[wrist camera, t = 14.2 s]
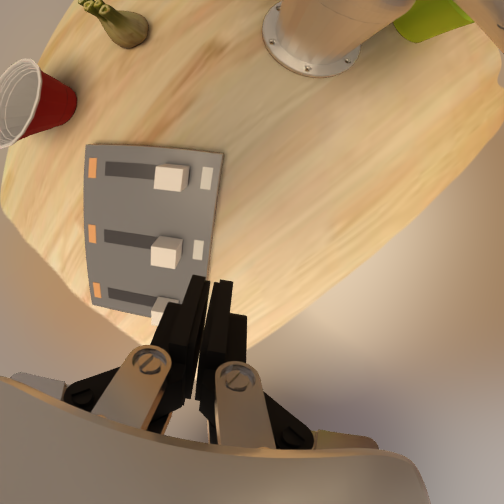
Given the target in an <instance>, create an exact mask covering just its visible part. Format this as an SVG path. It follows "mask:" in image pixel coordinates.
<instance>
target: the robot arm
mask: <svg viewBox="0 0 504 504" xmlns="http://www.w3.org/2000/svg"><path fill="white" fill-rule="evenodd" d="M415 1H416V0H282V1H280V2H279V3H277V4H275V5H274V6H273V7H272V8H271V9H270V10H269V11H268V13H267V14H266V16H265V19H264V21H263V26H262V36H263V40H264V43H265V45H266V47H267V49H268V51H269V52H270V54H271V55H272V56H273V58H274V59H275V60H277V61H278V62H279V63H280V64H281V65H283V66H284V67H286V68H287V69H289V70H291V71H293V72H295V73H297V74H300V75H304V76H307V77H315V78H327V77H331V76H336V75H338V74H340V73H343V72H344V71H346V70H347V69H349V68H350V67H351V66H352V65H353V64H354V63H355V61H356V60H357V59H358V56H359V53H360V49H361V44H362V43H363V42H364V41H366V40H367V39H369V38H370V37H371V36H373V35H374V34H376V33H377V32H379V31H380V30H381V29H383V28H384V27H386V26H387V25H389V24H390V23H392V22H393V21H395V20H396V19H398V18H399V17H401V16H402V15H404V14H405V13H406V12H408V11H409V10H410V9H411V7H412V6H413V5H414V3H415ZM452 1H454V2H455V3H456V4H457V5H458V6H459V7H460V8H461V9H462V10H463V11H464V12H465V13H466V14H467V15H468V16H469V17H470V18H471V19H472V20H473V21H474V22H475V23H476V24H477V25H478V26H479V27H480V28H481V29H482V30H483V31H484V32H485V34H486V35H487V36H488V37H489V38H490V39H491V40H492V41H493V42H494V44H495V45H496V46H497V47H498V48H499V49H500V50H501V51H502V53H503V54H504V0H452ZM277 10H280V11H277ZM270 43H273V44H274V45H271V44H270ZM345 61H346V62H347V63H345ZM305 69H308V72H306V71H305ZM209 288H210V281H206V277H204V276H199V275H192V277H191V280H190V283H189V286H188V288H187V291H186V294H185V297H184V299H183V302H182V304H178V303H173V302H168V303H167V305H166V308H165V310H164V312H163V315H162V317H161V320H160V322H159V324H158V327H157V329H156V332H155V334H154V337H153V339H152V342H151V344H150V345H143V346H139V347H137V348H135V349H134V350H132V352H130V354H129V355H128V356H127V358H126V359H125V361H124V363H123V364H122V365H121V366H120V367H118V368H115V369H113V370H110V371H107V372H104V373H101V374H98V375H95V376H93V377H89V378H86V379H83V380H80V381H77V382H75V383H73V384H71V385H67V384H66V383H65V381H59V380H54V379H49V378H45V377H40V376H36V375H32V374H27V373H21V372H20V373H16V374H14V375H13V376H12V377H10V378H7V377H4V376H0V504H431V503H430V499H429V496H428V492H427V489H426V487H425V484H424V481H423V479H422V477H421V474H420V472H419V470H418V469H417V467H416V466H415V464H414V463H413V462H412V461H411V460H410V459H408V458H407V457H405V456H403V455H400V454H397V453H394V452H390V451H385V450H379V447H378V445H377V443H376V442H375V441H374V440H373V439H371V438H369V437H366V436H359V435H351V434H343V433H337V432H330V431H325V430H318V431H317V432H316V431H311V430H310V429H309V428H308V427H307V426H306V425H304V424H303V423H302V422H301V421H299V420H298V419H297V418H295V417H294V416H293V415H292V414H290V413H289V412H288V411H287V410H285V409H284V408H283V407H282V406H280V405H279V404H278V403H277V402H276V401H274V400H273V399H272V398H271V397H270V396H268V395H267V394H266V393H265V392H264V391H263V388H262V384H261V379H260V377H259V374H258V372H257V371H256V370H255V369H254V368H253V367H252V366H250V365H249V364H246V344H247V316H245V315H239V314H233V313H230V306H231V297H232V288H233V282H232V281H226V280H221V279H220V283H218V282H214V286H213V290H212V295H211V299H210V304H209V309H208V313H207V318H206V323H205V317H206V310H207V302H208V295H209ZM204 325H205V328H204ZM199 353H200V355H199ZM198 358H199V364H198V373H197V384H196V394H195V400H198V401H200V407H199V411H200V412H201V413H202V414H203V415H204V416H205V417H206V418H207V431H208V443H202V442H196V441H190V440H185V439H180V438H175V437H170V436H166V435H164V433H165V431H166V429H167V426H168V424H169V421H170V419H171V417H172V413H173V411H175V410H177V409H178V408H180V407H182V405H184V402H185V398H187V399H191V394H192V389H193V383H194V378H195V373H196V368H197V363H198Z"/></svg>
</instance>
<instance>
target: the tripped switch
mask: <svg viewBox="0 0 504 504" xmlns="http://www.w3.org/2000/svg"><path fill="white" fill-rule="evenodd" d="M182 241H183V239H178V238H171V237H165V236H159V237H158V238H157V240H156V241H155V242H154V243H153V244H152V246H151V265H153V266H159V267H165V268H171V269H175V268H176V266H177V264H178V262H179V260H180V259H181V255H182Z"/></svg>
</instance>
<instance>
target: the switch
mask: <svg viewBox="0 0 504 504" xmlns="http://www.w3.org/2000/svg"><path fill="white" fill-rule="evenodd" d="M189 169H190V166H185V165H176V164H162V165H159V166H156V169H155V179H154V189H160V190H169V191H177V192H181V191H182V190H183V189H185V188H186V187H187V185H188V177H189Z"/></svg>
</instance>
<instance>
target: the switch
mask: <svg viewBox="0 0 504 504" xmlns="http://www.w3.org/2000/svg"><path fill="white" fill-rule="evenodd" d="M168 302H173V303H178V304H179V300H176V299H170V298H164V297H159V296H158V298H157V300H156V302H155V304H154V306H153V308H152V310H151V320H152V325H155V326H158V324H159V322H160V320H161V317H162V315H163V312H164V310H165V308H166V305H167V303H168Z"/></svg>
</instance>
